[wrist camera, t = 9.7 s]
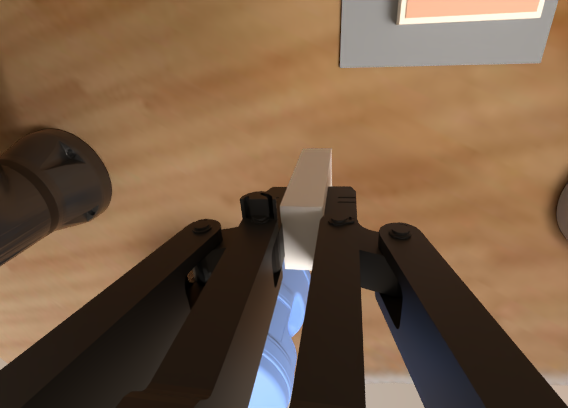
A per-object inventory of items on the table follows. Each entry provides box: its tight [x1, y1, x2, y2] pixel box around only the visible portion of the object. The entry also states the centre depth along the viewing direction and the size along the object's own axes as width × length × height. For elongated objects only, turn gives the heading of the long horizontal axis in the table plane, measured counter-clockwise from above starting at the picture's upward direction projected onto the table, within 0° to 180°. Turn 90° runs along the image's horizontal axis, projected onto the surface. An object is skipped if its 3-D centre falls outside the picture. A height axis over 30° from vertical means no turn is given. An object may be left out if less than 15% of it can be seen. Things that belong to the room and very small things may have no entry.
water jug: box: [248, 261, 311, 408], centre depth 42 cm, size 16×16×28 cm
